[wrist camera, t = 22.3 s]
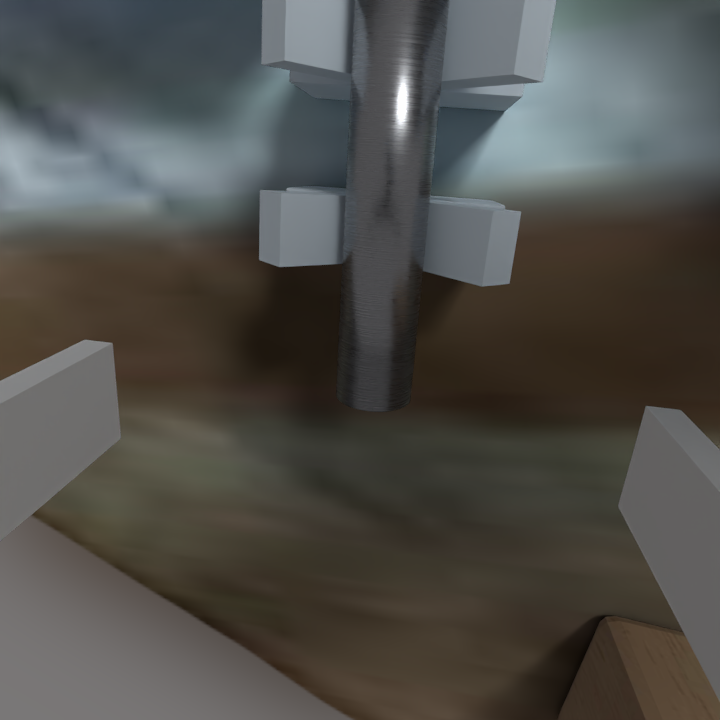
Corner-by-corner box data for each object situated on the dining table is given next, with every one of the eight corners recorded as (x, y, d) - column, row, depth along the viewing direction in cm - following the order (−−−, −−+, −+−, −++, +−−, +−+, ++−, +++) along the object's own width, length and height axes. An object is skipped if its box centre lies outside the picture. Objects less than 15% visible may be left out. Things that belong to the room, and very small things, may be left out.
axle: (368, -68, 18) (350, -111, 15) (459, -69, 18) (457, -113, 15) (344, 377, 24) (328, 405, 21) (413, 386, 23) (406, 416, 20)
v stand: (315, 39, 25) (252, -36, 16) (516, 50, 24) (566, -22, 16) (307, 235, 28) (250, 264, 19) (486, 251, 27) (513, 289, 18)
